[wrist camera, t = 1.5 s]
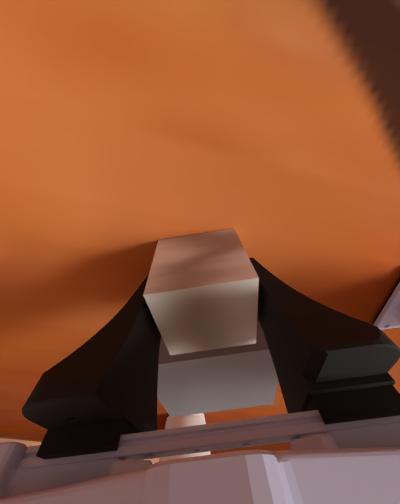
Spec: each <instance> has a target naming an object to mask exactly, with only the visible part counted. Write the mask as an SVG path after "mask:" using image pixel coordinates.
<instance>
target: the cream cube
mask: <svg viewBox="0 0 400 504" xmlns="http://www.w3.org/2000/svg"><path fill="white" fill-rule="evenodd" d="M258 286H259V277H258V275H257V273H256V271H255V269H254V267H253V265H252V263H251V261H250V259H249V257H248V255H247V253H246V251H245V249H244V247H243V245H242V243H241V241H240V239H239V237H238V235H237V233H236V231H235V229H234V228H231V229H224V230H218V231H212V232H205V233H199V234H193V235H186V236H180V237H174V238H167V239H161V240H158V243H157V247H156V250H155V254H154V258H153V261H152V265H151V269H150V272H149V276H148V280H147V283H146V287H145V290H144V294H143V296H144V298H145V300H146V302H147V305H148V307H149V309H150V311H151V314H152V316H153V318H154V320H155V323H156V325H157V327H158V329H159V331H160V334H161V336H162V338H163V340H164V343H165V345H166V347H167V349H168V351H169V354H170V355H176V354H184V353H191V352H198V351H205V350H212V349H219V348H227V347H234V346H241V345H248V344H255V343H256V334H257V310H258Z"/></svg>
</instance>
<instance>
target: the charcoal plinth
mask: <svg viewBox="0 0 400 504" xmlns="http://www.w3.org/2000/svg"><path fill="white" fill-rule="evenodd" d="M277 385H278V377H277V374H276V370H275V367H274V364H273V361H272V357H271V354H270V351H269V348H268V345H267V342H266V339H265V336H264V333H263V330H262V328H261V325H260V323H259V321H258V319H257V334H256V343H255V344H248V345H241V346H234V347H227V348H219V349H212V350H205V351H198V352H191V353H184V354H176V355H170V354H169V351H168V349H167V347H166V345H165V343H164V340H163V338H162V336H161V340H160V348H159V364H158V387H157V398H158V400H159V401H160V402H161V404H162V405H163V407H164V408H165V410H166V411H167V413H168V414H169V415H170V417H176V416H184V415H191V414H199V413H207V412H215V411H222V410H230V409H238V408H246V407H253V406H261V405H269V404H274V399H275V394H276V389H277Z"/></svg>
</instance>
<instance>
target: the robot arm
mask: <svg viewBox="0 0 400 504" xmlns="http://www.w3.org/2000/svg"><path fill="white" fill-rule="evenodd" d="M249 259H250V261H251V263H252V265H253V267H254V269H255V271H256V273H257V275H258V277H259V286H258V310H257V319H258V321H259V323H260V325H261V328H262V330H263V333H264V336H265V339H266V342H267V345H268V348H269V351H270V354H271V357H272V361H273V364H274V367H275V370H276V374H277V377H278V380H279V384H280V387H281V391H282V394H283V398H284V401H285V405H286V408H287V412H288V414H282V415H274V416H266V417H258V418H250V419H242V420H235V421H227V422H219V423H211V424H203V425H195V426H187V427H180V428H172V429H164V430H157V387H158V364H159V348H160V340H161V334H160V331H159V329H158V327H157V325H156V323H155V320H154V318H153V316H152V314H151V311H150V309H149V307H148V305H147V302H146V300H145V298H144V296H143V294H144V290H145V287H146V283H147V280H148V276H149V275H148V276H147V277H146V279H145V280H144V281H143V283H142V284H141V285H140V287H139V288H138V289H137V291H136V292H135V293H134V295H133V296H132V297H131V298H130V300H129V301H128V302H127V303H126V304H125V305H124V307H123V308H122V309H121V310H120V311H119V312H118V313H117V314H116V315H115V316H114V318H113V319H112V320H111V321H110V322H109V323H107V324H106V325H105V326H104V327H103V328H102V329H101V330H100V331H99V332H98V333H96V334H95V335H94V336H93V337H92V338H91V339H90V340H88V341H87V342H86V343H85V344H83V345H82V346H81V347H80V348H78V349H77V350H76V351H74V352H73V353H72V354H70V355H69V356H68V357H66V358H65V359H63V360H62V361H61V362H59V363H58V364H56V365H55V366H53V367H52V368H51V369H49V370H48V371H46V372H45V373H43V375H42V376H41V378H40V380H39V381H38V383H37V385H36V386H35V388H34V390H33V391H32V393H31V395H30V396H29V398H28V400H27V401H26V403H25V405H24V406H23V408H22V414H23V415H24V417H25V418H27V419H28V420H30V421H32V422H34V423H36V424H38V425H40V426H42V427H44V428H46V429H48V431H47V433H46V435H45V437H44V439H43V441H42V443H41V445H39V446H31V447H27V446H26V445H24V444H22V443H18V442H3V443H0V504H400V394H399V393H398V391H397V390H396V389H395V388H394V386H393V385H394V384H395V381H394V380H393V378H392V377H391V376H390V375H389V374H388V371H389V370H390V369H391V367H392V366H393V365H394V364H395V363H396V362H397V360H398V359H399V357H400V349H399V348H398V347H397V346H396V345H395V344H394V343H393V342H392V341H391V340H390V339H389V338H388V337H387V335H385V334H384V333H383V332H382V331H381V330H382V329H389V328H396V327H400V282H399V284H398V285H397V287H396V288H395V290H394V292H393V293H392V295H391V297H390V298H389V300H388V302H387V303H386V305H385V306H384V308H383V310H382V311H381V313H380V315H379V316H378V318H377V320H376V321H375V323H374V325H371V324H369V323H366V322H363V321H360V320H358V319H355V318H352V317H349V316H347V315H345V314H342V313H340V312H337V311H335V310H333V309H331V308H328V307H326V306H324V305H322V304H320V303H318V302H316V301H314V300H312V299H310V298H308V297H306V296H304V295H303V294H301V293H299V292H298V291H296V290H294V289H293V288H291V287H289V286H288V285H286V284H285V283H284V282H282V281H281V280H279V279H278V278H277V277H275V276H274V275H273V274H272V273H270V272H269V271H268V270H267V269H265V268H264V267H263V266H262V265H261V264H260V263H258V262H257V261H256V260H255V259H254V258H249ZM290 441H292V442H291V443H290V447H291V450H289V451H265V450H246V451H237V452H229V453H221V454H212V455H204V456H196V457H188V458H180V459H172V460H166V461H161V462H157V463H155V464H152V462H151V461H150V460H144V459H152V458H160V457H168V456H176V455H184V454H192V453H201V452H209V451H217V450H225V449H233V448H241V447H249V446H257V445H266V444H274V443H282V442H290Z"/></svg>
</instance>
